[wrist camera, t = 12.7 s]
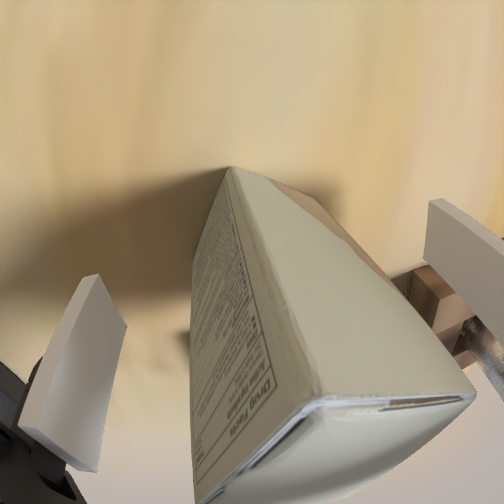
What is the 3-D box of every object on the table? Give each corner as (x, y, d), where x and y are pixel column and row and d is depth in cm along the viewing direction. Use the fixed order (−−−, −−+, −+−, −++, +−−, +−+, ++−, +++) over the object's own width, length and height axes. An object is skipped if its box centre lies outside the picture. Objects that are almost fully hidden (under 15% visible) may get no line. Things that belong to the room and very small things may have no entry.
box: (271, 284, 16) (339, 503, 6) (189, 261, 14) (187, 514, 5) (319, 192, 13) (489, 397, 4) (229, 157, 12) (312, 415, 3)
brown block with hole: (393, 368, 22) (408, 395, 19) (413, 270, 17) (439, 299, 14) (478, 329, 22) (495, 349, 19) (507, 236, 17) (533, 256, 14)
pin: (438, 324, 20) (517, 442, 10) (446, 297, 18) (540, 420, 8) (463, 313, 20) (541, 420, 10) (471, 287, 19) (563, 396, 8)
